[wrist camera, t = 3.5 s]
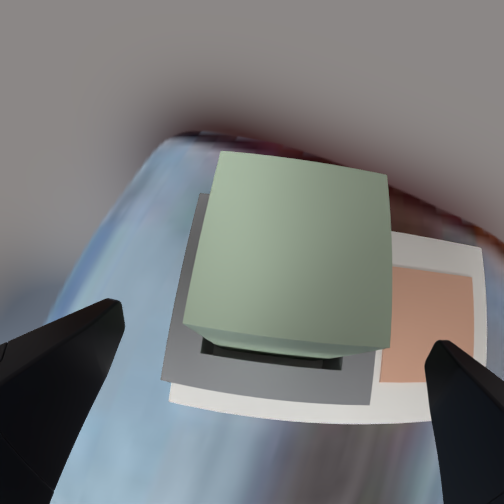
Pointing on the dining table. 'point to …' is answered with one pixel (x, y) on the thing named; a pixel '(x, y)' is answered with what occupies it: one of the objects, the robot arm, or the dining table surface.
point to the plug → (293, 259)
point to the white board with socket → (347, 367)
